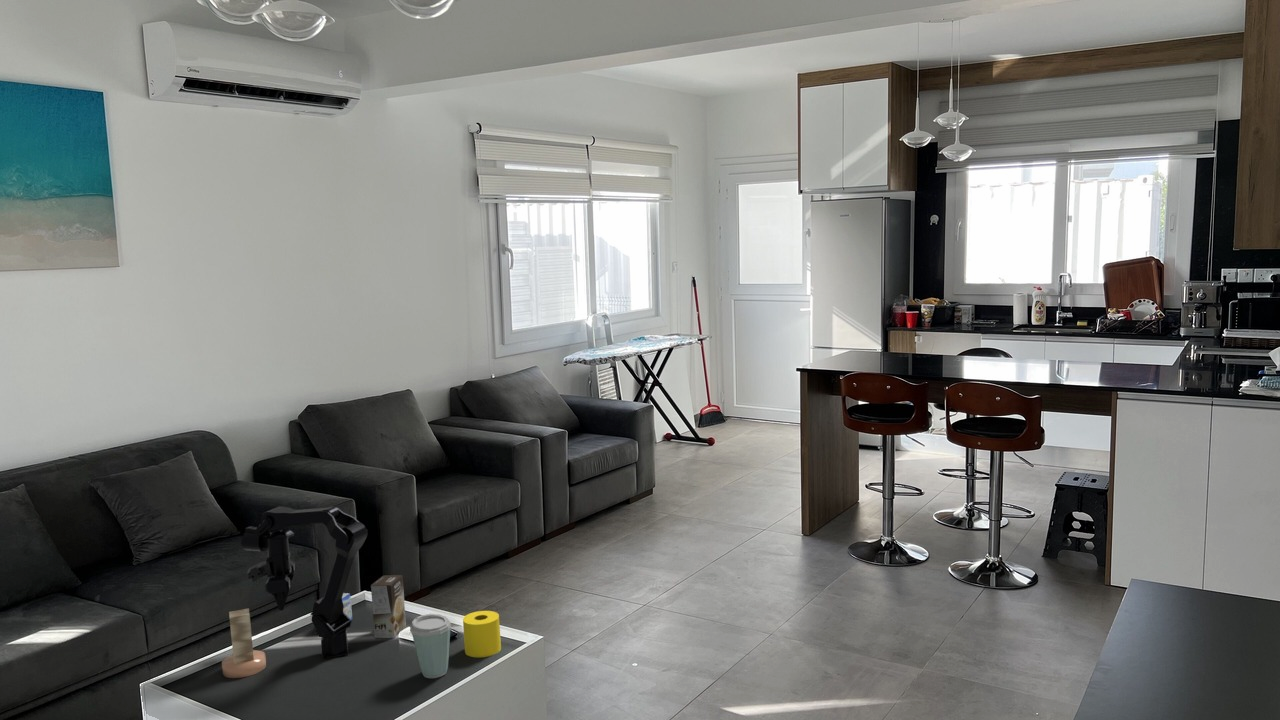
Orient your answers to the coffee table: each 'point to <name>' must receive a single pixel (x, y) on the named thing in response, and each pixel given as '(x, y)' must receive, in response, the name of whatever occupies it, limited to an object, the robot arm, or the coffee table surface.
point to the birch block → (241, 635)
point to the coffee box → (388, 606)
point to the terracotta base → (244, 666)
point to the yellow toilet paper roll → (482, 633)
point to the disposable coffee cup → (432, 643)
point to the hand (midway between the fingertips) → (283, 604)
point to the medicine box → (347, 605)
